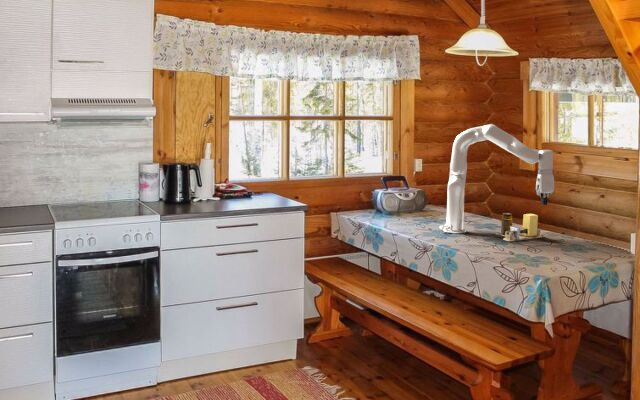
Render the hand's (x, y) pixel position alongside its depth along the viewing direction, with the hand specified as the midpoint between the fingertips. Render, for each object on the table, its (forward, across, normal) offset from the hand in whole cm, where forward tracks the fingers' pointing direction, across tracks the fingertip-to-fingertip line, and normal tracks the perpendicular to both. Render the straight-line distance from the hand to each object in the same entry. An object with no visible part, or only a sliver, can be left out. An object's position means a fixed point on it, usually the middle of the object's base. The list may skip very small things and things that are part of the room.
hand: (544, 204), depth 389 cm
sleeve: (+16, -10, 0) cm, 19 cm away
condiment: (+18, -16, +14) cm, 27 cm away
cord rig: (+18, -15, 0) cm, 23 cm away
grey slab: (+18, -21, 0) cm, 27 cm away
